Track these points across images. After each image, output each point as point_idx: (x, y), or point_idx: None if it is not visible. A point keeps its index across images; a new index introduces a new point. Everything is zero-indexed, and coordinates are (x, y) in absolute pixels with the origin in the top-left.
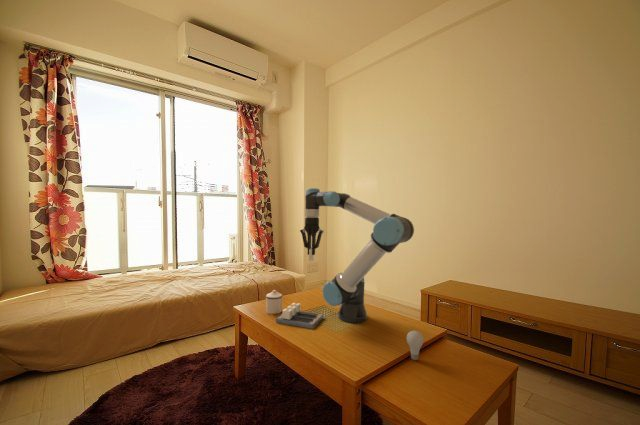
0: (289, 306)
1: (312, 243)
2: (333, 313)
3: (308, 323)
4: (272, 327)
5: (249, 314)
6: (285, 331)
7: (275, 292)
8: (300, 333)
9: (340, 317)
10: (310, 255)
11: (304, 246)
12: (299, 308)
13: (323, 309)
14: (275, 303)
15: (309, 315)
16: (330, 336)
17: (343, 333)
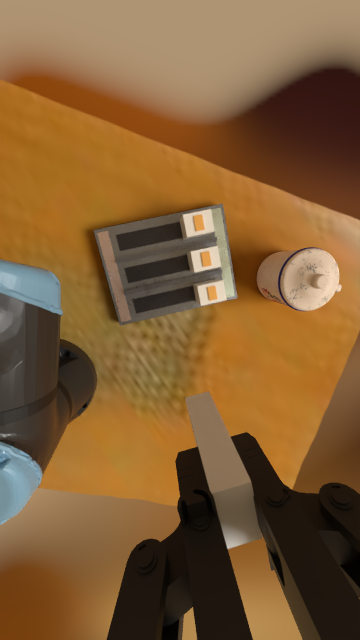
0: (214, 258)
1: (233, 620)
2: (118, 373)
3: (112, 231)
4: (203, 169)
5: (326, 211)
6: (152, 167)
7: (312, 282)
8: (106, 182)
9: (69, 344)
10: (207, 427)
11: (352, 493)
12: (197, 298)
13: (162, 382)
14: (278, 261)
15: (146, 285)
16: (21, 216)
17: (3, 259)
